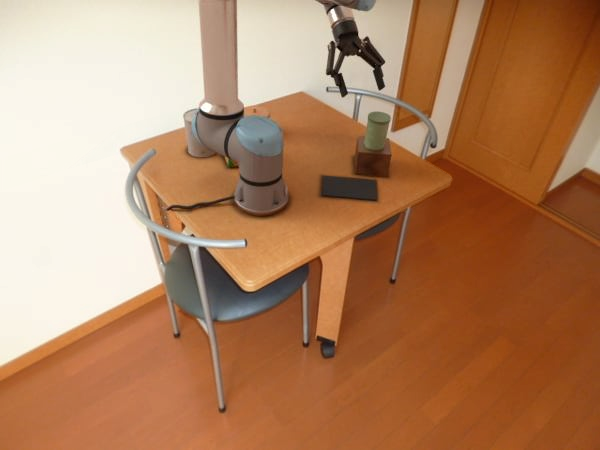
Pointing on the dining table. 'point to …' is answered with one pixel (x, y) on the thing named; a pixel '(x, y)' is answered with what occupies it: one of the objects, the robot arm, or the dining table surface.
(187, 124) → the grey cylinder
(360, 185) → the rubber mat
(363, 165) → the walnut block
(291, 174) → the dining table surface
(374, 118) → the green tin
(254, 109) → the trinket box
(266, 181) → the robot arm
